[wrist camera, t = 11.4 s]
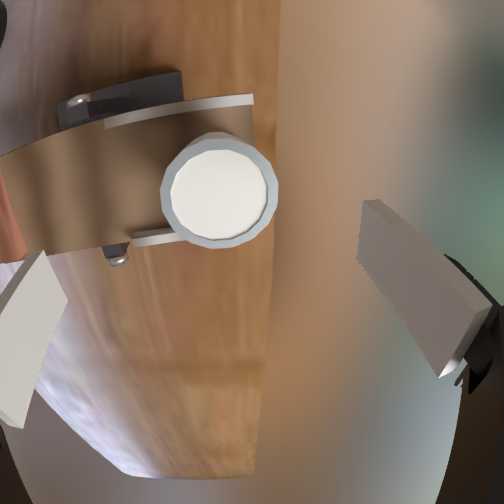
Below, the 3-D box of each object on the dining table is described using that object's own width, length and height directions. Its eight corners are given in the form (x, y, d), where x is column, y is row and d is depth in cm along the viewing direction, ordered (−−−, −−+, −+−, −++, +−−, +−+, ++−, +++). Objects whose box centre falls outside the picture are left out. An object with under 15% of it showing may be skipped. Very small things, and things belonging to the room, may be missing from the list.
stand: (90, 226, 37) (55, 282, 26) (61, 103, 27) (2, 117, 16) (199, 208, 38) (198, 263, 27) (181, 71, 29) (166, 61, 18)
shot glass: (230, 220, 25) (237, 266, 19) (157, 182, 22) (140, 219, 16) (276, 153, 22) (302, 179, 16) (202, 107, 20) (198, 114, 14)
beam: (15, 250, 26) (-3, 272, 22) (-14, 162, 20) (-39, 177, 16) (255, 210, 28) (263, 233, 24) (246, 93, 22) (254, 93, 18)
